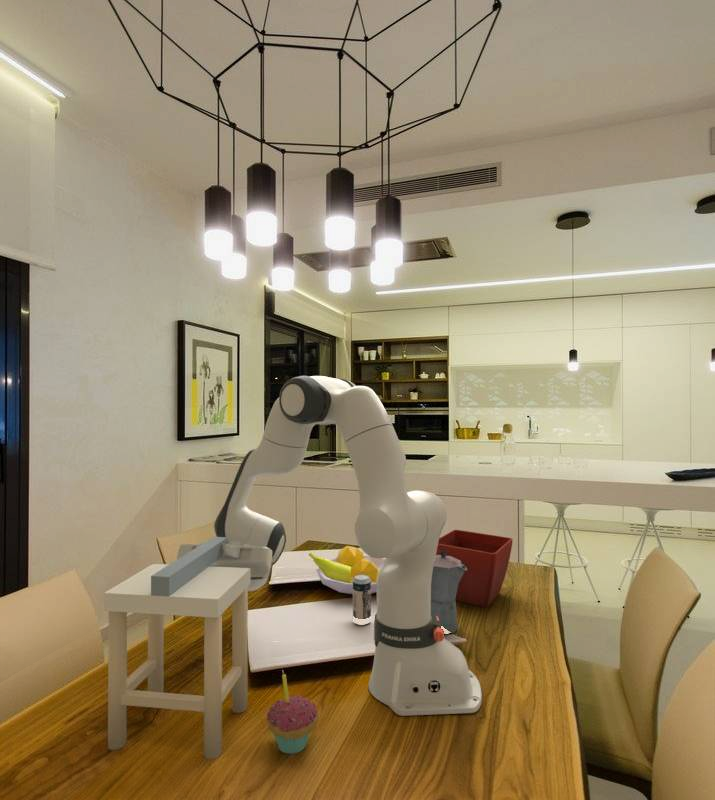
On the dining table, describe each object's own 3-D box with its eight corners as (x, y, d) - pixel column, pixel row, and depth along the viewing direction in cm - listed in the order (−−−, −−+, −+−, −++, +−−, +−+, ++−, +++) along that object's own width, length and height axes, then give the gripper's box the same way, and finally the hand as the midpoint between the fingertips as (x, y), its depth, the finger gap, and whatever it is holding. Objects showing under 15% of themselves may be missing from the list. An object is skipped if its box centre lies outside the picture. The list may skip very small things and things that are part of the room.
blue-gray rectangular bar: (227, 552, 104) (227, 537, 104) (169, 596, 80) (169, 576, 80) (213, 551, 104) (213, 536, 104) (150, 595, 80) (151, 576, 80)
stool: (250, 704, 93) (250, 568, 94) (217, 760, 78) (218, 599, 79) (152, 695, 96) (153, 563, 96) (103, 749, 81) (104, 592, 81)
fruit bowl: (405, 575, 164) (405, 541, 164) (392, 608, 137) (392, 568, 137) (325, 569, 170) (325, 536, 170) (299, 599, 144) (299, 561, 144)
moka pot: (460, 642, 118) (460, 559, 118) (403, 627, 126) (403, 549, 126) (473, 627, 126) (473, 549, 126) (419, 613, 134) (419, 540, 134)
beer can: (369, 627, 125) (369, 580, 126) (351, 625, 126) (351, 579, 127) (372, 619, 130) (372, 574, 130) (354, 617, 131) (354, 573, 131)
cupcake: (257, 753, 80) (257, 680, 80) (283, 722, 88) (283, 655, 88) (303, 768, 77) (303, 691, 77) (326, 734, 85) (326, 665, 85)
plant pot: (513, 592, 149) (513, 537, 149) (495, 615, 133) (495, 553, 133) (454, 580, 159) (454, 528, 159) (430, 600, 143) (430, 542, 143)
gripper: (195, 546, 115) (169, 530, 103) (279, 550, 112) (262, 534, 100) (188, 574, 112) (161, 561, 100) (275, 579, 109) (257, 565, 97)
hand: (212, 547), depth 100 cm, fingers closed on blue-gray rectangular bar, 3 cm apart
